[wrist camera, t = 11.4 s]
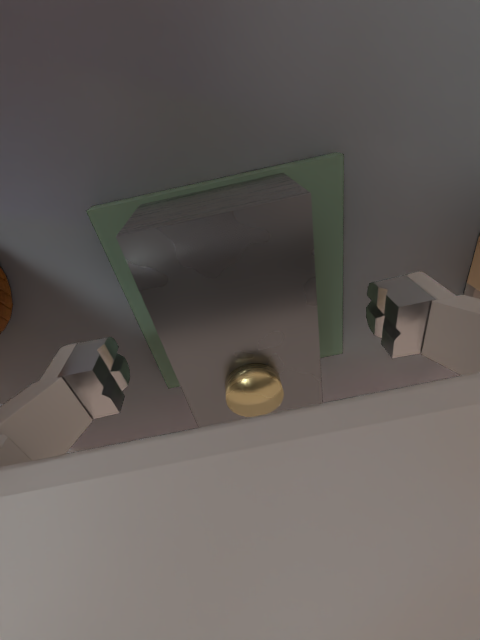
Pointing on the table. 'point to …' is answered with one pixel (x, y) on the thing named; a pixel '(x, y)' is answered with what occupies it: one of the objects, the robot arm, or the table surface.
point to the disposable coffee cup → (5, 301)
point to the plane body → (474, 275)
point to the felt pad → (312, 174)
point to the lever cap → (232, 295)
